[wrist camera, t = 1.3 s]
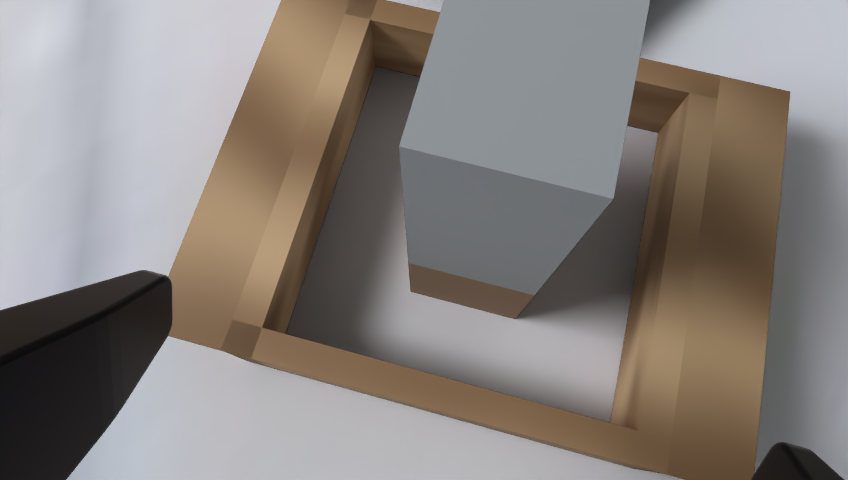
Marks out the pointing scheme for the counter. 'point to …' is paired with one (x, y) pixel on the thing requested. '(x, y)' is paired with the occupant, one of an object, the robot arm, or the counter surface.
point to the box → (514, 142)
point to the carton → (655, 271)
